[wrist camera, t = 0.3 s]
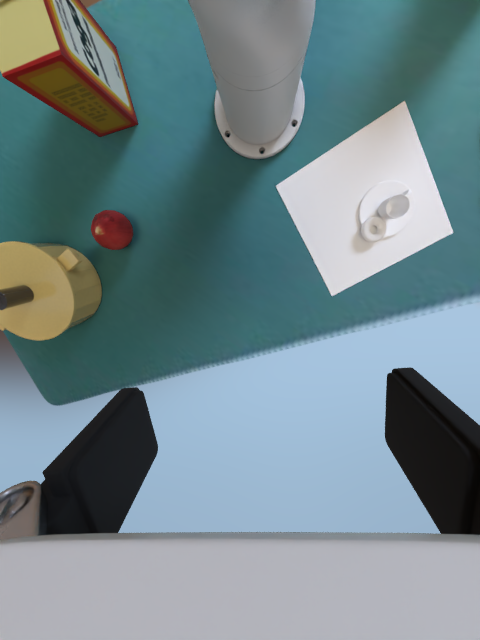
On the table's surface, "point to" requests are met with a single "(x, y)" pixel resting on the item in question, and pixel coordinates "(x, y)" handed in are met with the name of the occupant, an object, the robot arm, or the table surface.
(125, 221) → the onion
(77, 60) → the baking soda box
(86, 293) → the pot
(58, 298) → the lid
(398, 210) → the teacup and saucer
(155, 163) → the table surface
